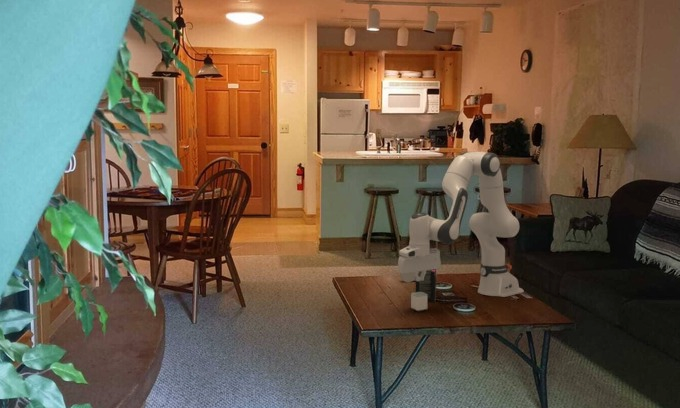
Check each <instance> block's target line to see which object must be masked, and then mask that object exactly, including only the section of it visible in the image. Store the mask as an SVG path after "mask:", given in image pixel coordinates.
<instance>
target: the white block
mask: <svg viewBox="0 0 680 408" xmlns="http://www.w3.org/2000/svg"><path fill="white" fill-rule="evenodd" d="M410 308H411V309H413V310H415V311H416V310H423V311H424V310H428V302H427V294H426V293H423V292H416V291H415V292H410Z"/></svg>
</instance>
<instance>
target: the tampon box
mask: <svg viewBox="0 0 680 408" xmlns="http://www.w3.org/2000/svg"><path fill="white" fill-rule="evenodd" d="M436 272H437V269H433V270H426V274H425V276H424V280H423V281H416V280H415V292H423V293H426V294H427V303H428V302H429V303H431V302H432V303H435V302H436V298H437V275H436ZM421 273H422V272H421V271H419V274H418V276H421Z"/></svg>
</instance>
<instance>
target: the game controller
mask: <svg viewBox="0 0 680 408" xmlns="http://www.w3.org/2000/svg"><path fill="white" fill-rule="evenodd" d="M437 274H438V273H437V271H436V276H437ZM399 276H400V279H401V280H402V281H403V282H405V283H412V282H413V281H416V276H415V275H414V272H412V273H405V274H402V273H400V272H399Z"/></svg>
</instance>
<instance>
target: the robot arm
mask: <svg viewBox="0 0 680 408" xmlns="http://www.w3.org/2000/svg"><path fill="white" fill-rule="evenodd" d="M500 160H501V159H500V158H499V156H498V155H497V153H493V152H486V151H465V152H461V153H459V155H457V156H456V157H454V159H453V161H451V163H450V165H449V166H448V168H447V170H446V172H445V174H444V176H443V179H442V182H441V187H442V188H441V189H442V190H443V192H444V194H446V195H447V196H448V197H449V198H451V199H452V204H451V208H450V210H449V211H450V212H449V215H448V217H447V219H446V220H445V219H439V218H435V217H433V216H430V215H429V214H428V213H427V212H417V213H413V214H412V215H411V216H410V219H409V222H408V223H409V224H408V226H409V227H408V234H409V243H408V245H407V246H406V247H403V248H402V249H400V250H399V251H398V254H399V256H398V260H397V271H398V272H399V274H400V273H402V274H405V273H412V272H414V275H415V276H416V280H415V282H416V281H423V280H424V276H425V274H426V270H433V269H436V270H437V269H440V268H441V267H442V262H441V256H440V255H441V252H440V249H438V248H437V247H434V248H431V247H430V246H431V245H430V244H431V243H430V241H435V242H439V243H442V244H446V245H452V244H454V243H455V242H456V241H457V240H458V239H459V237H460V233H461V232H460V231H461V226H462V225H461V224H462V222H463V217H464V215H465V210H466V208H467V203H468V199H469V193H468V191H467V189H468V185H469V183H470V180H471V178H472V176H477V177H478V180H479V181H478V182H479V183H478V186H479V199H480V203H481V205H482V206H484V207H485V208H486V209H487V210H488V212H485V211H484V212H483V211H481V212H476V213H473V214H472V215H471V216H470V218H469V222H468V223H469V225H468V226H469V229H470V230H471V231H472V232H473V233H474V235H475V236H476V238H477V239H478V242H479V246H480V252H481V263H480V269H479V270H480V278H479V279H480V280H479V285H478V288H477V293H478V294H481V295H485V296H490V297H502V298H505V297H510V296H513V295H519V294H523V293H524V289H523V288H521V287H520V286H519V280H518V279H517V277H515V276H514V275H513V274H511V273H510V272H509V271H508V270H512V268H513V267H512V265H511V264H505V263H506V249H505V247H504V245H503V244H501V243H500V242H499V241H498V239H497V237H498V238H513V237H515V236H517V234H518V233H519V231H520V222H519V220H518V218H516V216H514V215H513V214H512V212H511V211H510V210H509V208H508V206H507V203H506V199H505V193H504V182H503V181H504V180H503V175H502V171H501V161H500ZM419 271H421V272H422V273H421V276H418V274H419Z"/></svg>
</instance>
